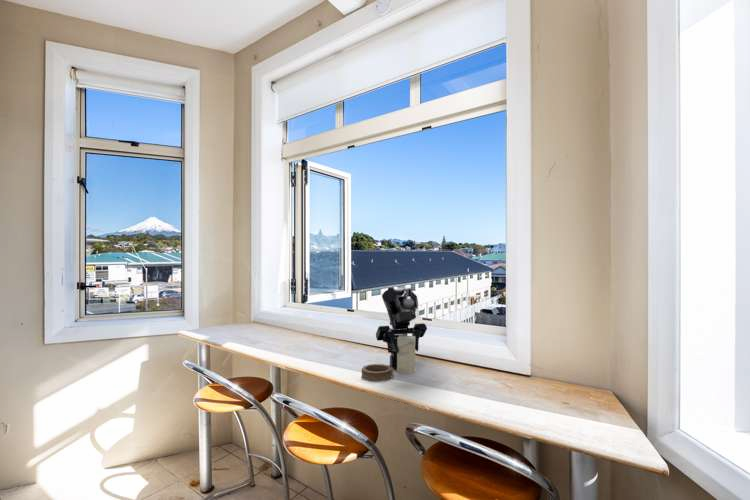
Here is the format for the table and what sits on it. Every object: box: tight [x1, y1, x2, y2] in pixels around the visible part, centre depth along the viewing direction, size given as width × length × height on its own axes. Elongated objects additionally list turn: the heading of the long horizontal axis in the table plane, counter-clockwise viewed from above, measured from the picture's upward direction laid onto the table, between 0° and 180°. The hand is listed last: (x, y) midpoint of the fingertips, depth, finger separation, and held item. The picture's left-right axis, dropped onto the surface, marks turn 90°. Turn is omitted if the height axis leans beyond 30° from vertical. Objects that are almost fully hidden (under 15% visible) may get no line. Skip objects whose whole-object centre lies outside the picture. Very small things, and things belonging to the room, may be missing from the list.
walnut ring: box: [361, 363, 393, 382], centre depth 139 cm, size 11×11×3 cm
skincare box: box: [396, 335, 416, 374], centre depth 132 cm, size 6×4×12 cm
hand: (407, 351), depth 131 cm, fingers closed on skincare box, 7 cm apart
